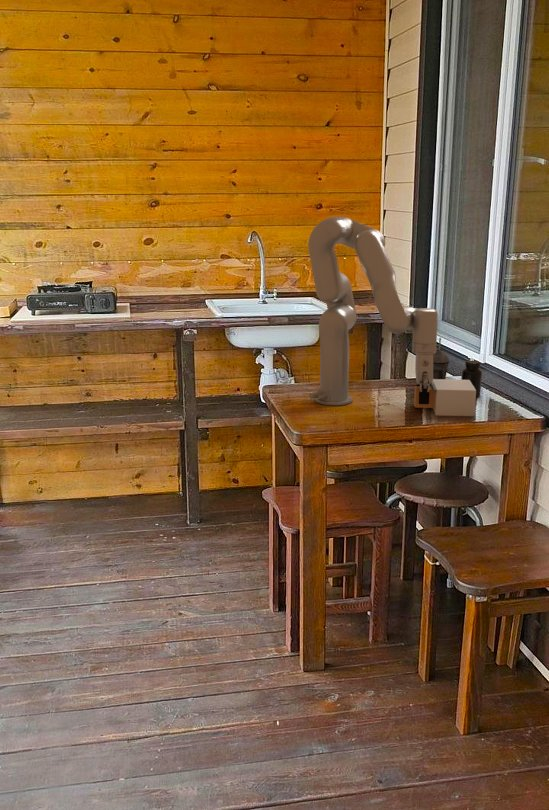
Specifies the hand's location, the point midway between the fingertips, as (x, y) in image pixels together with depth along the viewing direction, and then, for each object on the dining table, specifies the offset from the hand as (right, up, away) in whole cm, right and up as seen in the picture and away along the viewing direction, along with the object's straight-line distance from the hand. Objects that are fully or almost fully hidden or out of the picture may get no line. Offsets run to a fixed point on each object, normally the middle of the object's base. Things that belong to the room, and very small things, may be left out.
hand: (422, 400), depth 242 cm
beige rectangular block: (+10, -3, 0) cm, 10 cm away
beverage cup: (+9, +2, +19) cm, 21 cm away
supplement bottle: (+20, +1, +17) cm, 26 cm away
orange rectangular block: (+4, -2, 0) cm, 4 cm away
